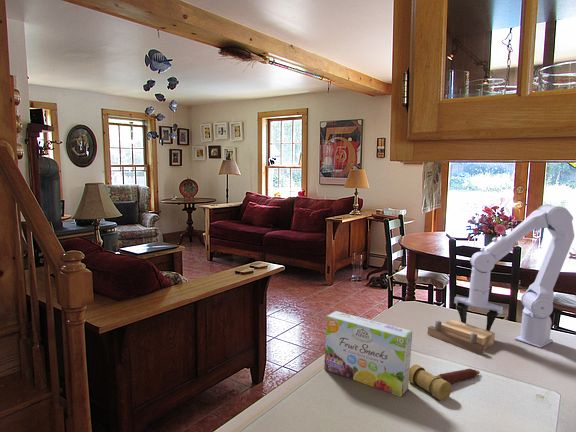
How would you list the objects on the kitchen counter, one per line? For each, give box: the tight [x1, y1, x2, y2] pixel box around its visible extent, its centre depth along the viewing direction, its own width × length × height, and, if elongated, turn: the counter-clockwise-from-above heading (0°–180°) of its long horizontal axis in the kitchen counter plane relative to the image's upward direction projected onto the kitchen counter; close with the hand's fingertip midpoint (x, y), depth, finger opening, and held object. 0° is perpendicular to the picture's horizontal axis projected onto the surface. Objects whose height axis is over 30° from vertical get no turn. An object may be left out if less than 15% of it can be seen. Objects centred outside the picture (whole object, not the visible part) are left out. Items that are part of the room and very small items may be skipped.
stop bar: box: [427, 320, 486, 356], centre depth 131 cm, size 2×18×5 cm, turn 37°
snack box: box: [324, 310, 413, 398], centre depth 105 cm, size 21×6×15 cm, turn 55°
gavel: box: [409, 364, 481, 402], centre depth 106 cm, size 21×5×10 cm
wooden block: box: [441, 319, 496, 350], centre depth 134 cm, size 8×14×4 cm, turn 39°
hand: (475, 329), depth 138 cm, fingers open, 7 cm apart
